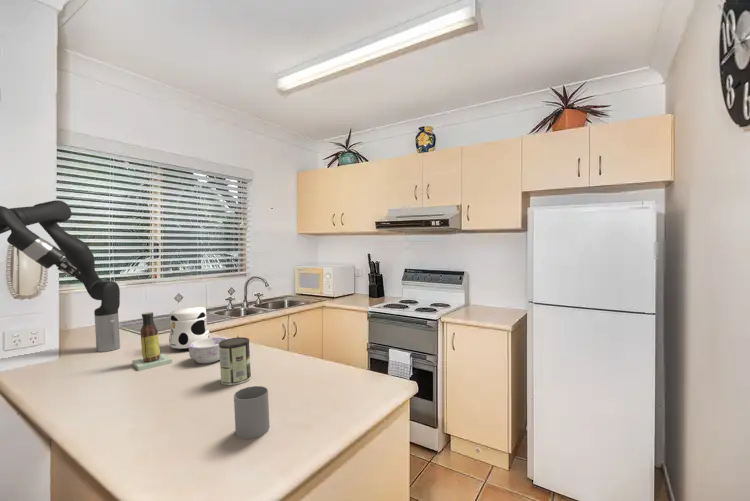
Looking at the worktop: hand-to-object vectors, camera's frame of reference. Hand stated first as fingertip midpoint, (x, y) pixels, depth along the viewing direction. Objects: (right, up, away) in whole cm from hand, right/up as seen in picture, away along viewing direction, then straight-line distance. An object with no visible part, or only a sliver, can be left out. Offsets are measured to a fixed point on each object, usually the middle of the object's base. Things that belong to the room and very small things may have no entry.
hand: (86, 281), depth 138 cm
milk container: (+22, -35, +35) cm, 54 cm away
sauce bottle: (+18, -34, +12) cm, 40 cm away
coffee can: (+62, -35, -9) cm, 72 cm away
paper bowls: (+41, -35, +14) cm, 56 cm away
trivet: (+18, -36, +12) cm, 42 cm away
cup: (+80, -35, -45) cm, 98 cm away
